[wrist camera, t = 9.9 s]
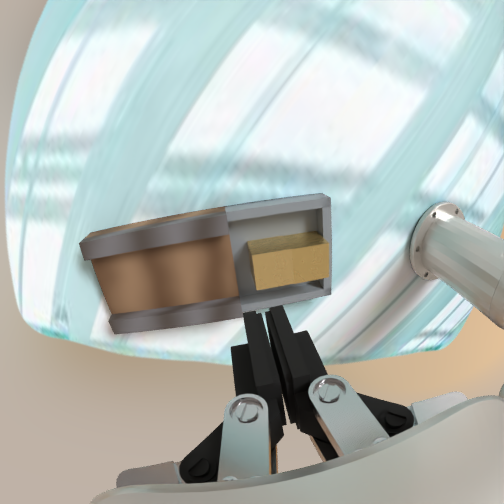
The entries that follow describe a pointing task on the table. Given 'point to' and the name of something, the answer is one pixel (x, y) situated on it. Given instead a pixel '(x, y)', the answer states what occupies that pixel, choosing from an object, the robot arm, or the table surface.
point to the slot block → (166, 271)
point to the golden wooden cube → (271, 262)
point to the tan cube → (309, 256)
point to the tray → (271, 225)
